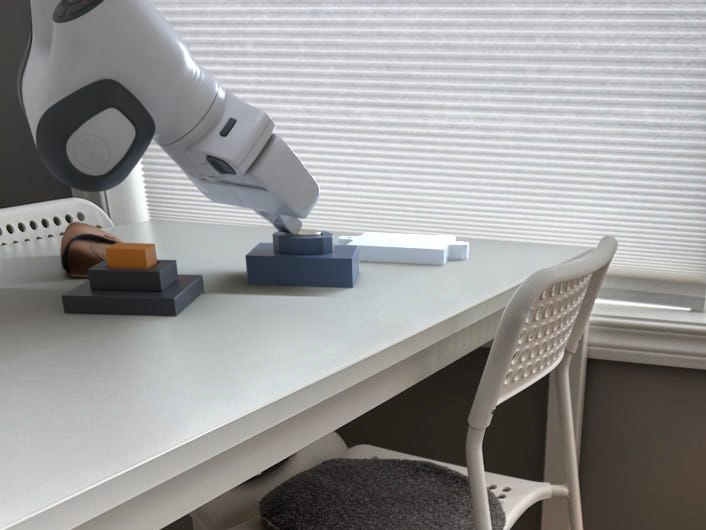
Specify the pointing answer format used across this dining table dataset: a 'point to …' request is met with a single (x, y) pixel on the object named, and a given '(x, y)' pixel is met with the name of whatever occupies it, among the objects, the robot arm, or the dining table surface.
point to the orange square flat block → (131, 255)
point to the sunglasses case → (84, 248)
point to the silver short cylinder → (306, 233)
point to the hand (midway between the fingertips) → (292, 229)
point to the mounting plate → (407, 248)
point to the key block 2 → (303, 262)
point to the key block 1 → (134, 291)
